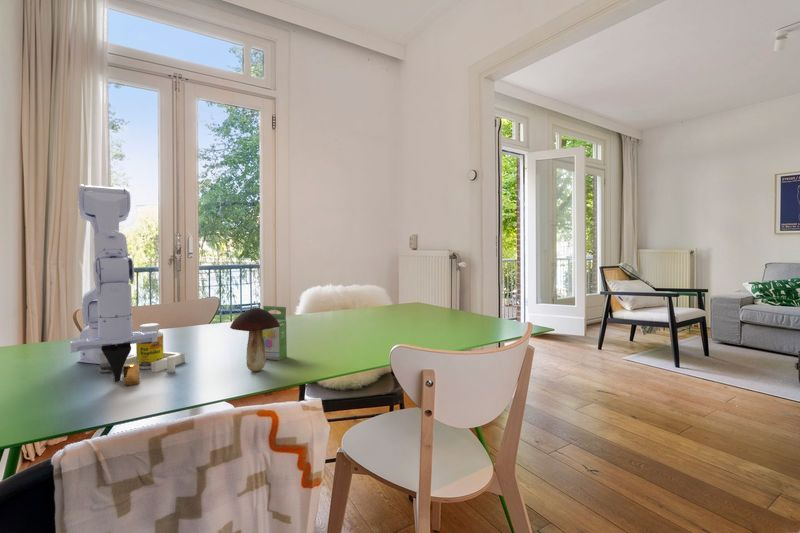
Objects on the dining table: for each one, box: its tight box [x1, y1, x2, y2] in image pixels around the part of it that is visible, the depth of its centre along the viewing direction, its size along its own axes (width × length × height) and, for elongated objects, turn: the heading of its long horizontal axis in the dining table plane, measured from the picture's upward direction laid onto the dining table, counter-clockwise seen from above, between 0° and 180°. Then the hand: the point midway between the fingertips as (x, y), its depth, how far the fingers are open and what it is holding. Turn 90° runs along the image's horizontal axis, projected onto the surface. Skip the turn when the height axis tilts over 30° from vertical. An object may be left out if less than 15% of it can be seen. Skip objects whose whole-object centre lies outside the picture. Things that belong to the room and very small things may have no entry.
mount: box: [98, 367, 113, 375], centre depth 93 cm, size 4×4×1 cm
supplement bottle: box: [135, 322, 164, 370], centre depth 96 cm, size 6×6×10 cm
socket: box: [125, 350, 186, 373], centre depth 97 cm, size 10×9×2 cm
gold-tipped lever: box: [99, 353, 140, 386], centre depth 88 cm, size 17×4×4 cm, turn 52°
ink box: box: [262, 305, 288, 361], centre depth 104 cm, size 7×4×13 cm, turn 75°
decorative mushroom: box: [229, 307, 280, 373], centre depth 93 cm, size 11×11×15 cm
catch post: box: [166, 356, 176, 374], centre depth 92 cm, size 2×2×4 cm
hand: (117, 380), depth 82 cm, fingers closed
